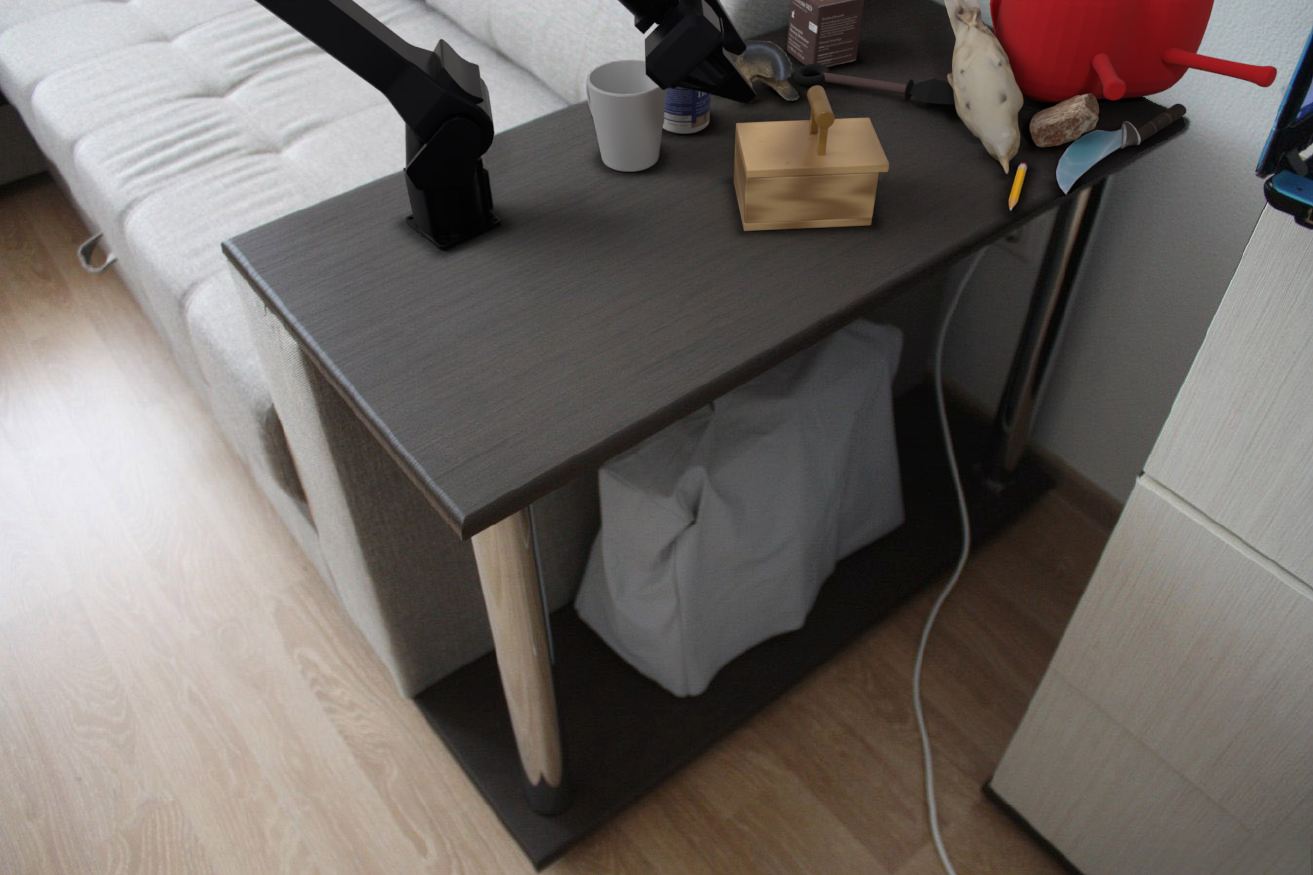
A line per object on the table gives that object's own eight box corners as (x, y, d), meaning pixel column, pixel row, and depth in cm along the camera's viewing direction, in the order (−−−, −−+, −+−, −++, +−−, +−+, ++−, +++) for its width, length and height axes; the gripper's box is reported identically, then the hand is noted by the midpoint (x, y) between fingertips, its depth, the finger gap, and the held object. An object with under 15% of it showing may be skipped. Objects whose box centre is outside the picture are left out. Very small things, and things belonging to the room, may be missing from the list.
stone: (1068, 142, 107) (1035, 107, 107) (1115, 104, 103) (1081, 67, 102) (1054, 168, 102) (1019, 132, 102) (1102, 129, 98) (1066, 91, 98)
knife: (1022, 183, 99) (1068, 204, 96) (1026, 168, 97) (1073, 189, 95) (1139, 102, 108) (1184, 119, 106) (1144, 87, 107) (1189, 104, 105)
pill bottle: (705, 137, 105) (706, 44, 98) (653, 133, 106) (652, 40, 99) (713, 113, 109) (715, 21, 102) (664, 109, 110) (663, 18, 103)
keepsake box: (853, 177, 99) (859, 126, 95) (871, 225, 93) (879, 173, 89) (733, 182, 99) (735, 131, 95) (743, 231, 93) (746, 179, 89)
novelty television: (1131, -69, 114) (1324, 3, 91) (1100, 50, 122) (1271, 144, 99) (957, -59, 111) (1112, 19, 88) (938, 62, 119) (1075, 163, 95)
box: (785, 51, 120) (790, -13, 114) (829, 41, 121) (836, -23, 116) (812, 72, 116) (818, 6, 111) (857, 61, 117) (866, -4, 112)
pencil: (1017, 167, 100) (1023, 171, 100) (1004, 211, 94) (1010, 215, 94) (1022, 161, 99) (1028, 165, 99) (1009, 205, 93) (1016, 209, 93)
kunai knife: (1032, 135, 102) (1036, 105, 99) (787, 93, 115) (786, 65, 112) (1047, 115, 104) (1051, 85, 102) (804, 76, 117) (804, 48, 114)
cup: (624, 187, 98) (620, 103, 93) (563, 148, 104) (555, 67, 98) (684, 160, 102) (684, 78, 96) (621, 124, 108) (618, 44, 102)
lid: (868, 125, 95) (875, 73, 92) (888, 172, 89) (896, 118, 86) (735, 131, 95) (737, 79, 92) (746, 178, 89) (749, 125, 85)
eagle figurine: (708, 102, 108) (793, 94, 106) (705, 31, 107) (791, 21, 104) (724, 111, 115) (804, 104, 113) (721, 45, 114) (802, 36, 112)
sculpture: (911, -27, 106) (932, -5, 110) (967, 181, 99) (988, 197, 103) (967, -62, 102) (987, -38, 106) (1029, 151, 95) (1048, 169, 99)
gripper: (690, -102, 69) (837, 54, 76) (679, -176, 82) (806, -37, 90) (581, 19, 74) (729, 153, 82) (588, -69, 88) (714, 53, 95)
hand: (747, 74), depth 87 cm, fingers open, 9 cm apart
